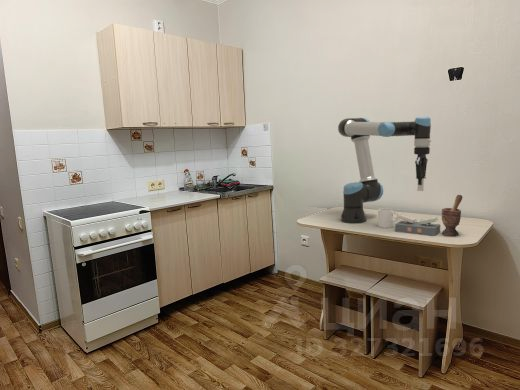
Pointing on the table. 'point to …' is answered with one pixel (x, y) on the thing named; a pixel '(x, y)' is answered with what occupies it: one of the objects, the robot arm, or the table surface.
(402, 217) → the rocker
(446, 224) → the mortar and pestle
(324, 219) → the table surface
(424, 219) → the rocker
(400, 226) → the switch unit
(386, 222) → the mug
